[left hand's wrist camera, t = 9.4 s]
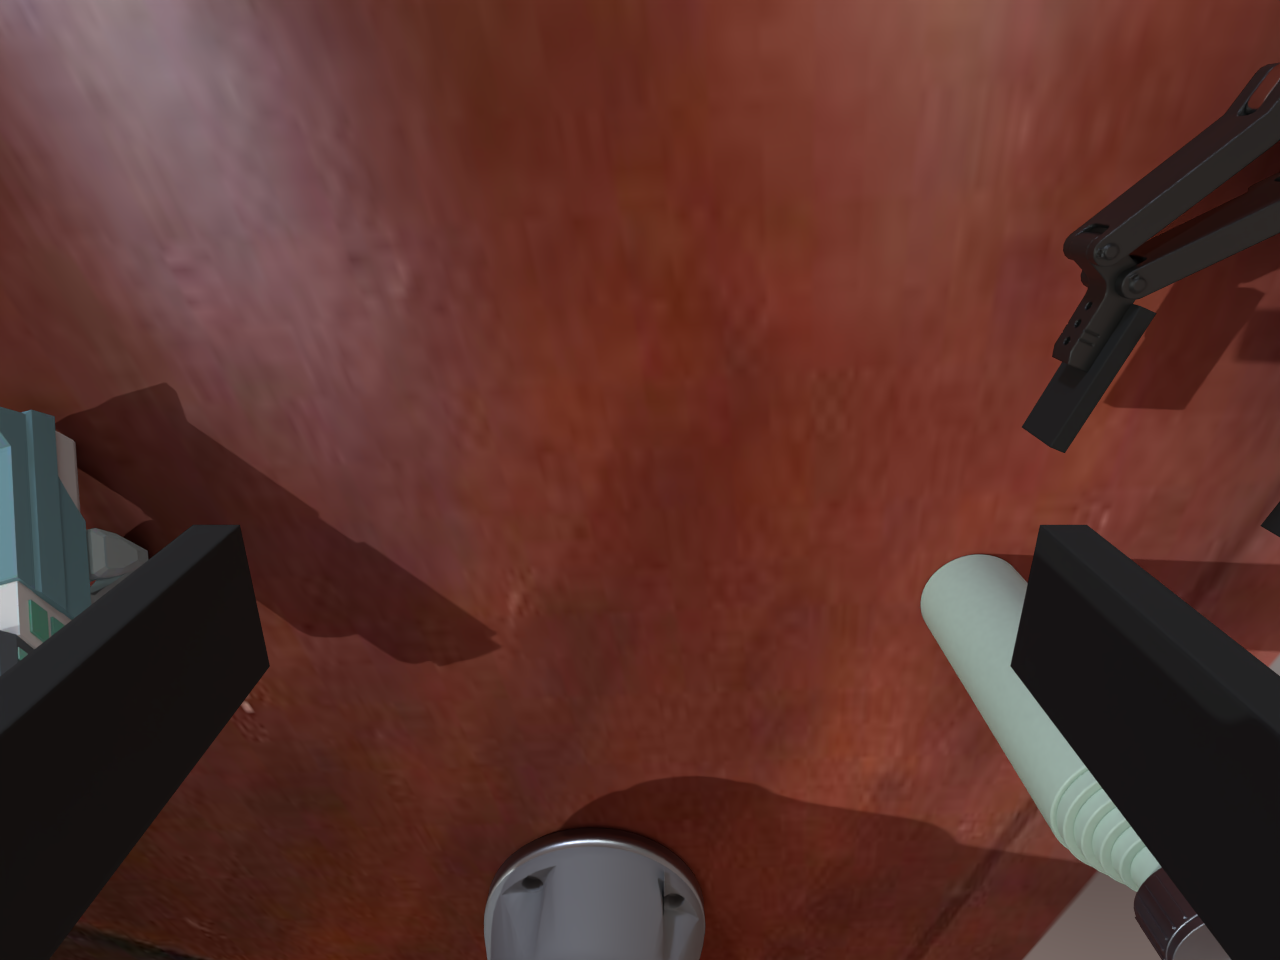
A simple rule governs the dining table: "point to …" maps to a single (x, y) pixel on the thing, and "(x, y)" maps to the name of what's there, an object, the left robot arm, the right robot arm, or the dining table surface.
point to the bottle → (1026, 714)
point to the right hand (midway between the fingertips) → (1167, 492)
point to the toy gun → (47, 538)
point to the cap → (1173, 922)
